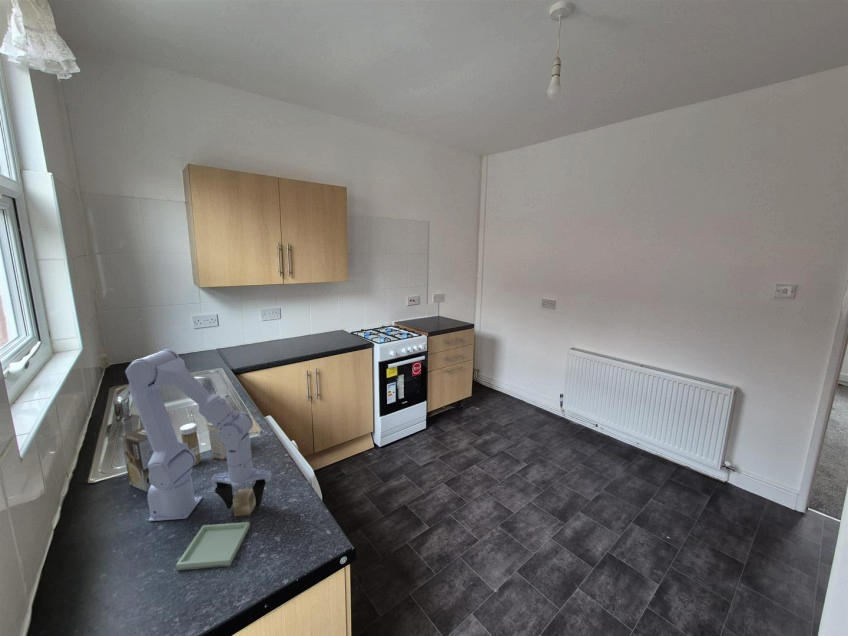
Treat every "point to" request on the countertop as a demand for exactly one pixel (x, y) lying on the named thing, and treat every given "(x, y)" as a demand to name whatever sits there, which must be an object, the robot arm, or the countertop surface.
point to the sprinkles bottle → (191, 439)
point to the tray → (214, 546)
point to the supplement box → (216, 443)
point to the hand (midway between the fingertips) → (244, 505)
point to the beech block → (244, 502)
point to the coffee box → (137, 458)
